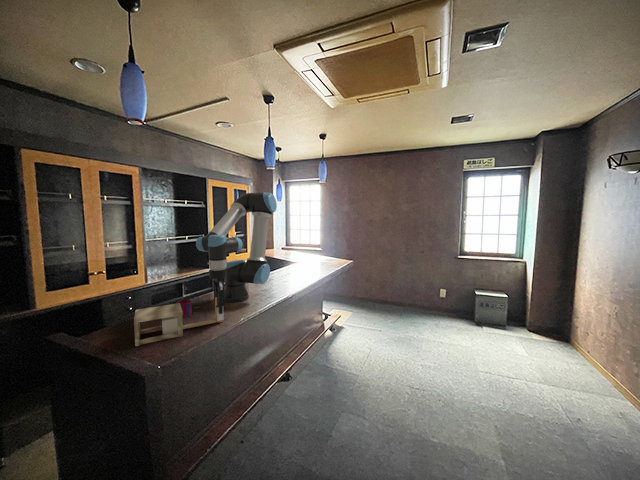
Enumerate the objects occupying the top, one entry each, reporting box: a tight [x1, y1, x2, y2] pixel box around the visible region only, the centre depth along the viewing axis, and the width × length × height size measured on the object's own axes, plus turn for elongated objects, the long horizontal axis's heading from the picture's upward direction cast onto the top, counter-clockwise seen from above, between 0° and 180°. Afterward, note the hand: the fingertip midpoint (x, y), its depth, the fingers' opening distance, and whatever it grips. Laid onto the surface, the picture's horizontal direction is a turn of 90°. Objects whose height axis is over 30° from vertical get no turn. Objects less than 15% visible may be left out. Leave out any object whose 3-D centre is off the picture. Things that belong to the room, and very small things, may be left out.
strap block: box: [161, 297, 224, 335], centre depth 112 cm, size 24×6×11 cm, turn 123°
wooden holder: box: [133, 303, 184, 347], centre depth 105 cm, size 16×13×10 cm
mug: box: [175, 299, 193, 319], centre depth 125 cm, size 7×10×7 cm
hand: (219, 318), depth 118 cm, fingers closed on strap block, 3 cm apart
